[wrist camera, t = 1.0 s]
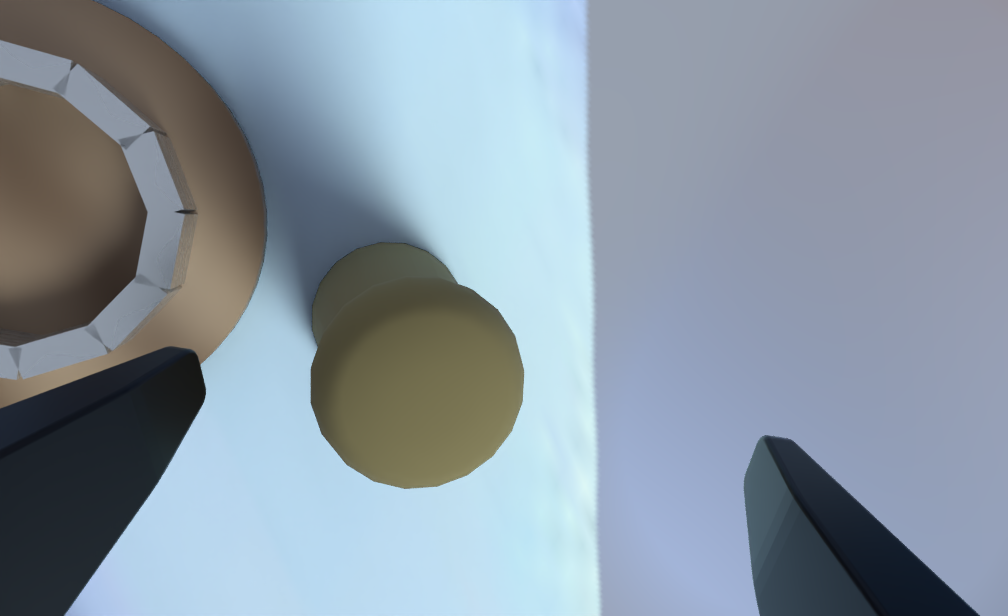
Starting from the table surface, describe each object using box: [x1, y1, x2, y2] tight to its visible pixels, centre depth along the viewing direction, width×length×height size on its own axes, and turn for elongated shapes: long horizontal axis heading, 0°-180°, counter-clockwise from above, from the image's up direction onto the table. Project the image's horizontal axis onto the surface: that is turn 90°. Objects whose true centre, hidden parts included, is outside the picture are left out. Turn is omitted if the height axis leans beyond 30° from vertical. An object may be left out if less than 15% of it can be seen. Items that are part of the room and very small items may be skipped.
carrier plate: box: [0, 0, 267, 408], centre depth 19 cm, size 14×14×1 cm
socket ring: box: [0, 40, 198, 380], centre depth 18 cm, size 10×10×2 cm
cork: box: [311, 242, 524, 489], centre depth 18 cm, size 6×6×11 cm
